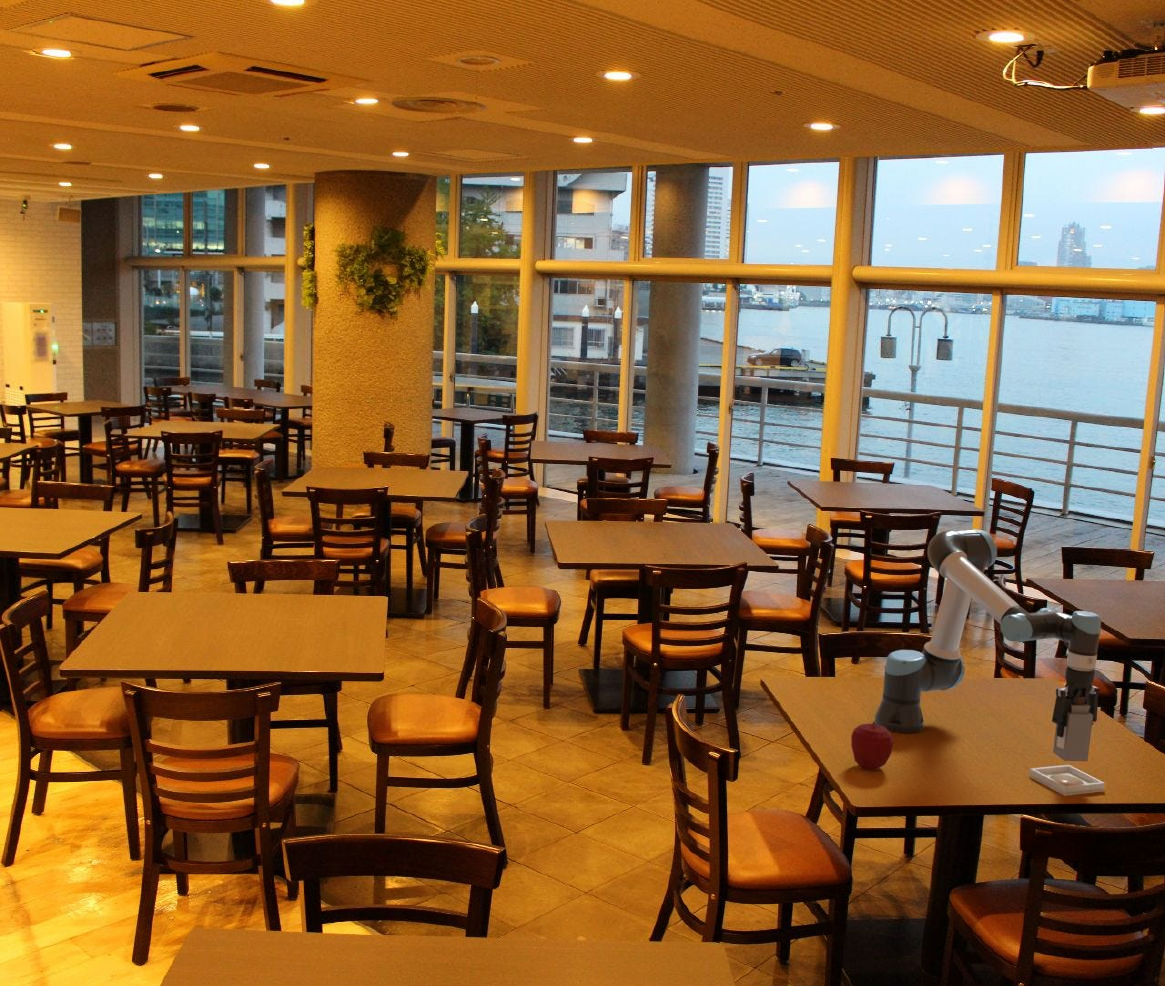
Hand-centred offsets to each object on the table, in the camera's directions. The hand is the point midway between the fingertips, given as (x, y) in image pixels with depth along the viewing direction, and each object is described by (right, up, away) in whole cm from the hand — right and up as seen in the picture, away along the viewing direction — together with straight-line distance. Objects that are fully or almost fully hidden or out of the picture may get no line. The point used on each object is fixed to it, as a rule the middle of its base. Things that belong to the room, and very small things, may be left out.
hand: (1071, 746), depth 347 cm
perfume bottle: (0, -3, 0) cm, 3 cm away
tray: (-1, -11, +2) cm, 11 cm away
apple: (-56, -7, +5) cm, 56 cm away
